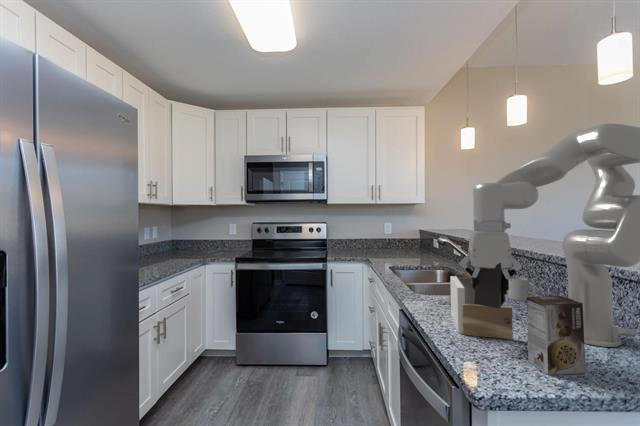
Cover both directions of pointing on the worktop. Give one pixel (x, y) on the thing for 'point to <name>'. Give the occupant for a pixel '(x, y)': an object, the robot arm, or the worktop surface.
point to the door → (487, 321)
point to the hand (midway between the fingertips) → (490, 291)
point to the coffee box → (556, 335)
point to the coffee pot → (466, 289)
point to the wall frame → (457, 302)
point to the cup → (520, 289)
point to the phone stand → (490, 287)
